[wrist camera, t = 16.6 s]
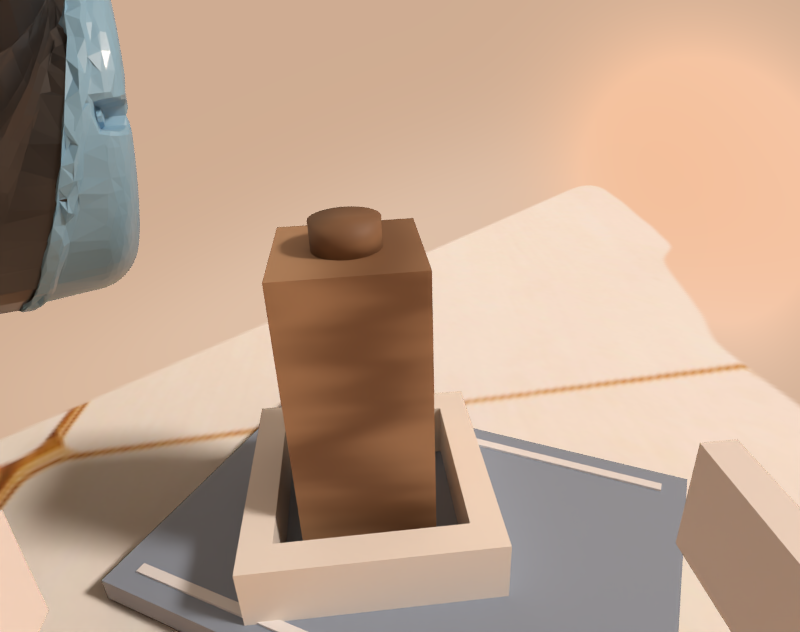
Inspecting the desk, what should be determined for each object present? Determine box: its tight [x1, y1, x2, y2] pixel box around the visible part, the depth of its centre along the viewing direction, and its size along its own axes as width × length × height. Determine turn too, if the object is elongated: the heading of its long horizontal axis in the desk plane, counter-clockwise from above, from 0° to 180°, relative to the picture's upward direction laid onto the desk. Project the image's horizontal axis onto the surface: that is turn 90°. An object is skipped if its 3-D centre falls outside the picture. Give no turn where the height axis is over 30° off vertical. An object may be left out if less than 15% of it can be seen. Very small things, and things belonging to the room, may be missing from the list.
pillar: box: [262, 207, 436, 541], centre depth 23 cm, size 5×5×13 cm
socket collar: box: [233, 391, 512, 626], centre depth 25 cm, size 9×9×2 cm
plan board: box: [102, 406, 687, 632], centre depth 25 cm, size 20×14×1 cm
